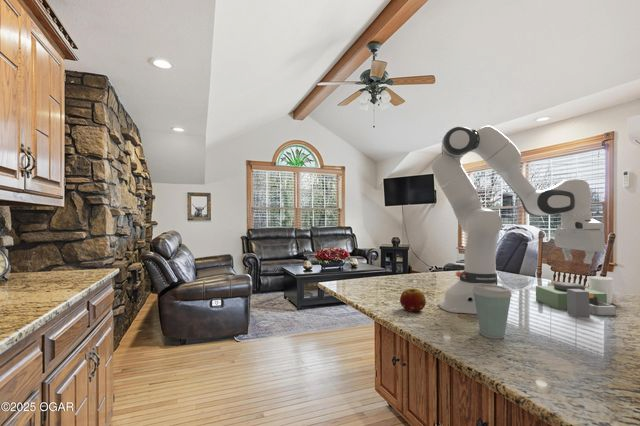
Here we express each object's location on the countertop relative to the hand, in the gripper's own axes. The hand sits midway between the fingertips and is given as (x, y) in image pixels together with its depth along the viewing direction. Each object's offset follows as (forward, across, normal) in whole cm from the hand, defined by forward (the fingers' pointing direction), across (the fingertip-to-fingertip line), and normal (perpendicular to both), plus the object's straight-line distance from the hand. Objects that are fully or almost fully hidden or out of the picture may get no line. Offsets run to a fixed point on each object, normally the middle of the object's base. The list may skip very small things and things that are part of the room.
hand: (577, 261), depth 117 cm
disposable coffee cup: (+19, +22, -40) cm, 50 cm away
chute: (+19, 0, 0) cm, 19 cm away
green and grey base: (+19, -11, +7) cm, 23 cm away
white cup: (+20, -20, +22) cm, 36 cm away
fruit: (+19, -4, -58) cm, 62 cm away
